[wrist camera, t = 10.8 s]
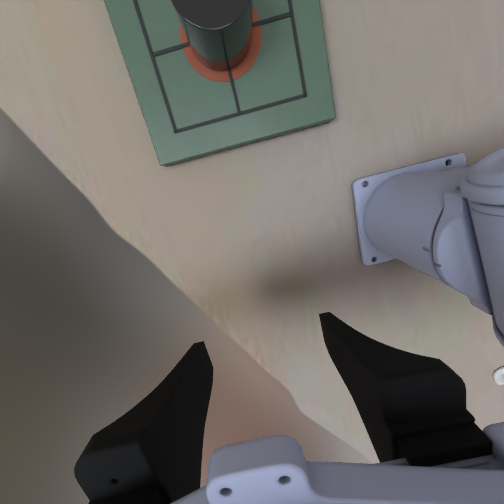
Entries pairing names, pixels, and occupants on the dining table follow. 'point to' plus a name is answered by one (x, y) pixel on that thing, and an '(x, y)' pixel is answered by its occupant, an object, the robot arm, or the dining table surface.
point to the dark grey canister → (217, 30)
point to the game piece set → (499, 376)
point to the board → (225, 78)
